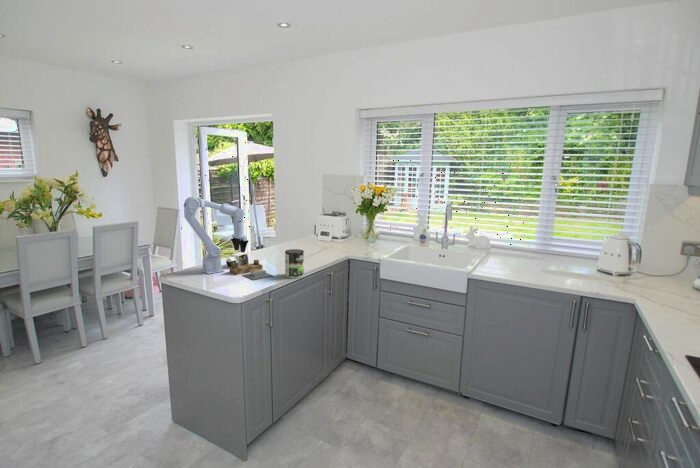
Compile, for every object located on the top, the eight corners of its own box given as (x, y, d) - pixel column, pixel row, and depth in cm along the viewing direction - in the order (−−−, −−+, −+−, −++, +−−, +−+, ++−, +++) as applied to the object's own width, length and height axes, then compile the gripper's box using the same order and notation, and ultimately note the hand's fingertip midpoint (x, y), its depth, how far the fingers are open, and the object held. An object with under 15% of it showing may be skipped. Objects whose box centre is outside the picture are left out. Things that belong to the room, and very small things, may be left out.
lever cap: (254, 277, 201) (254, 271, 200) (250, 275, 204) (250, 269, 203) (265, 274, 206) (265, 269, 205) (261, 273, 209) (261, 267, 208)
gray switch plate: (253, 280, 196) (253, 279, 196) (242, 275, 205) (242, 274, 205) (273, 276, 205) (273, 275, 204) (261, 271, 213) (261, 271, 213)
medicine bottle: (249, 264, 228) (233, 269, 218) (241, 262, 232) (225, 268, 222) (247, 253, 226) (231, 258, 217) (240, 251, 230) (224, 256, 221)
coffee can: (307, 275, 209) (307, 250, 206) (295, 279, 200) (295, 253, 198) (293, 272, 214) (293, 248, 212) (281, 276, 205) (281, 251, 203)
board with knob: (235, 275, 206) (235, 264, 205) (229, 272, 211) (229, 262, 210) (262, 270, 217) (262, 260, 216) (256, 267, 222) (256, 257, 221)
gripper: (251, 229, 213) (252, 252, 216) (239, 226, 224) (240, 248, 226) (240, 230, 209) (241, 254, 211) (228, 227, 219) (229, 250, 221)
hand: (239, 251), depth 218 cm, fingers open, 7 cm apart
